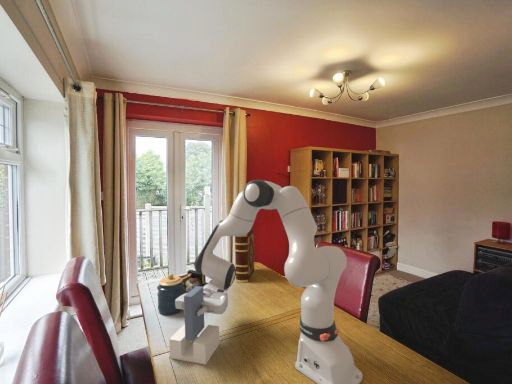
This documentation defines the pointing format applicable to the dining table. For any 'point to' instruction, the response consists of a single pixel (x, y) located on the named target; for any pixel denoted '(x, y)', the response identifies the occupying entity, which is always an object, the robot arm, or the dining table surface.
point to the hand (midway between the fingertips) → (191, 313)
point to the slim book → (193, 313)
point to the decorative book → (244, 256)
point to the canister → (169, 294)
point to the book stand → (194, 345)
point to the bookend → (193, 280)
